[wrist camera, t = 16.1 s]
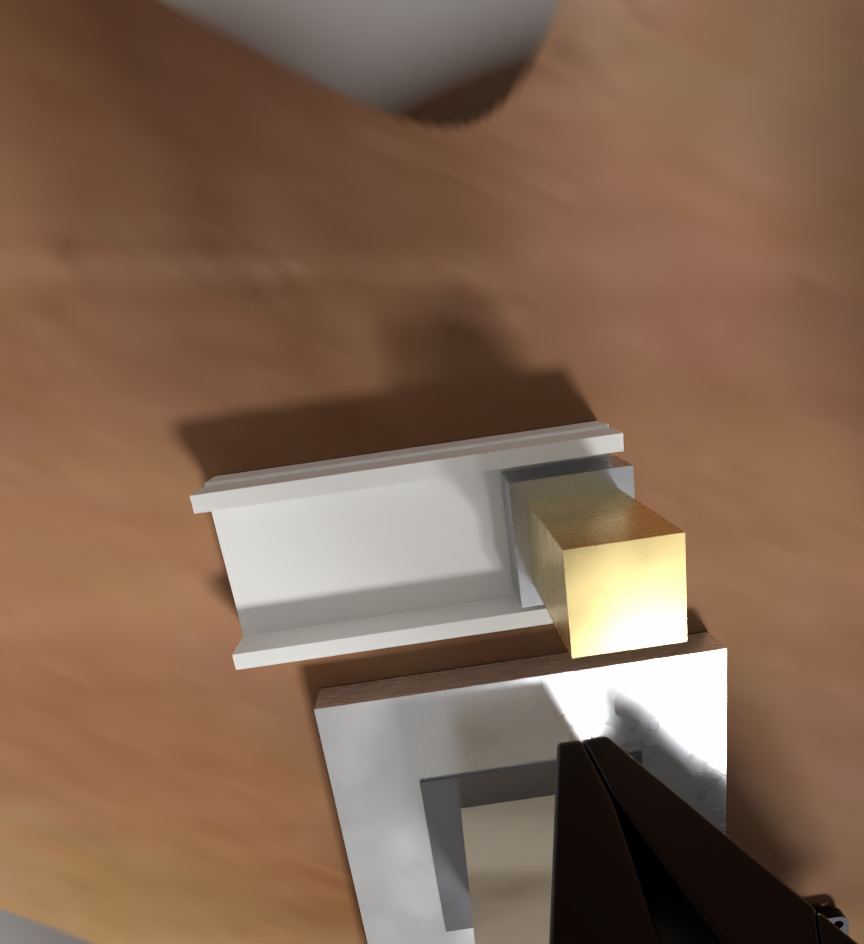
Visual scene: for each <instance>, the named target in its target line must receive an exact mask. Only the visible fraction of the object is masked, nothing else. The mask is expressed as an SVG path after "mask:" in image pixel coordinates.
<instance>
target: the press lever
mask: <svg viewBox="0 0 864 944" xmlns="http://www.w3.org/2000/svg"><path fill="white" fill-rule="evenodd" d="M501 482H502V491H503V500H504V509H505V518H506V527H507V536H508V545H509V554H510V563H511V572H512V581H513V588H514V591H515V593H516V595H517V598H518V600H519V602H520V605H521V607H522V608H525V607H532V606H538V605H544V606H545V608H546V610H547V612H548V613H549V615H550V617H551V619H552V621H553V623H554V625H555V627H556V629H557V631H558V633H559V635H560V636H561V638H562V640H563V642H564V644H565V646H566V648H567V650H568V652H569V654H570V656H571V658H578V657H584V656H591V655H598V654H605V653H612V652H618V651H625V650H632V649H639V648H645V647H652V646H659V645H666V644H673V643H679V642H686V641H687V601H686V551H685V532H684V531H682V530H681V529H679V528H678V527H676V526H675V525H673V524H672V523H670V522H669V521H667V520H666V519H664V518H663V517H661V516H660V515H658V514H657V513H655V512H653V511H652V510H650V509H649V508H647V507H646V506H644V505H643V504H641V503H640V502H638V501H637V500H635V494H634V471H633V465H632V464H630V463H628V462H626V461H624V460H622V459H620V458H618V457H616V456H609V457H602V458H596V459H589V460H582V461H575V462H568V463H561V464H554V465H547V466H541V467H534V468H527V469H520V470H513V471H506V472H501Z"/></svg>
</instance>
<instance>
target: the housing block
mask: <svg viewBox="0 0 864 944" xmlns="http://www.w3.org/2000/svg"><path fill="white" fill-rule="evenodd" d="M554 808H555V795H550V796H544V797H537V798H530V799H523V800H516V801H509V802H503V803H496V804H489V805H482V806H475V807H468V808H461V816H462V825H463V835H464V844H465V854H466V863H467V873H468V882H469V892H470V901H471V910H472V920H473V929H474V939H475V944H549V933H550V908H551V883H552V858H553V833H554Z"/></svg>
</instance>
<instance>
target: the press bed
mask: <svg viewBox="0 0 864 944" xmlns="http://www.w3.org/2000/svg"><path fill="white" fill-rule="evenodd" d="M314 712H315V716H316V721H317V725H318V729H319V734H320V738H321V743H322V747H323V751H324V756H325V760H326V764H327V769H328V773H329V777H330V782H331V786H332V790H333V795H334V799H335V803H336V808H337V812H338V817H339V821H340V825H341V830H342V834H343V838H344V843H345V847H346V851H347V856H348V860H349V864H350V869H351V873H352V877H353V882H354V886H355V891H356V895H357V899H358V904H359V908H360V912H361V917H362V921H363V925H364V930H365V934H366V938H367V943H368V944H475V939H474V929H473V920H472V910H471V901H470V892H469V882H468V873H467V863H466V854H465V844H464V835H463V825H462V816H461V808H468V807H475V806H482V805H489V804H496V803H503V802H509V801H516V800H523V799H530V798H537V797H544V796H550V795H555V783H556V758H557V745H558V744H559V743H561V742H568V741H574V740H579V741H581V742H583V741H584V740H585V739H588V738H594V737H601V736H605V737H608V738H610V739H611V740H612V741H613V742H614V743H616V744H617V745H618V746H619V747H620V748H622V749H623V750H624V751H625V752H627V753H628V754H629V755H630V756H631V757H633V758H634V759H635V760H636V761H637V762H639V763H640V764H641V765H642V766H643V767H645V768H646V769H647V770H648V771H649V772H651V773H652V774H653V775H654V776H655V777H657V778H658V779H659V780H660V781H662V782H663V783H664V784H665V785H666V786H668V787H669V788H670V789H671V790H672V791H674V792H675V793H676V794H677V795H678V796H680V797H681V798H682V799H683V800H684V801H686V802H687V803H688V804H689V805H690V806H692V807H693V808H694V809H695V810H696V811H698V812H699V813H700V814H701V815H703V816H704V817H705V818H706V819H707V820H709V821H710V822H711V823H712V824H713V825H715V826H716V827H717V828H718V829H719V830H721V831H722V832H723V833H724V834H725V835H726V743H727V649H726V648H725V647H724V646H723V645H722V644H721V643H720V642H719V641H718V640H717V639H716V638H715V637H714V636H713V635H712V634H711V633H709V632H703V633H696V634H689V635H687V641H686V642H679V643H673V644H666V645H659V646H652V647H645V648H639V649H632V650H625V651H618V652H612V653H605V654H598V655H591V656H584V657H578V658H571V656H570V654H569V652H567V653H560V654H553V655H547V656H540V657H533V658H526V659H519V660H513V661H506V662H499V663H492V664H486V665H479V666H472V667H465V668H458V669H452V670H445V671H438V672H431V673H424V674H418V675H411V676H404V677H397V678H390V679H384V680H377V681H370V682H363V683H357V684H350V685H343V686H336V687H329V688H323V689H319V693H318V697H317V700H316V704H315V707H314Z"/></svg>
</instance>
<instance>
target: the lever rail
mask: <svg viewBox="0 0 864 944" xmlns="http://www.w3.org/2000/svg"><path fill="white" fill-rule="evenodd" d="M621 451H624V445H623V433H622V432H619V431H617V430H614V429H611V428H609V426H608V424H605V423H603V422H600V421H592V422H585V423H579V424H572V425H565V426H558V427H551V428H544V429H537V430H530V431H523V432H517V433H510V434H503V435H496V436H489V437H482V438H475V439H468V440H462V441H455V442H448V443H441V444H434V445H427V446H420V447H413V448H406V449H400V450H393V451H386V452H379V453H372V454H365V455H358V456H351V457H344V458H338V459H331V460H324V461H317V462H310V463H303V464H296V465H289V466H283V467H276V468H269V469H262V470H255V471H248V472H241V473H234V474H227V475H221V476H215V477H213V478H212V479H210V480H209V481H207V482H205V483H204V485H205V486H204V487H203V488H201V489H200V490H198V491H197V492H195V493H193V494H192V495H190V499H191V503H192V507H193V510H194V514H195V513H202V512H209V511H211V512H212V516H213V520H214V523H215V527H216V531H217V535H218V539H219V543H220V547H221V550H222V554H223V558H224V562H225V566H226V570H227V574H228V578H229V581H230V585H231V589H232V593H233V597H234V601H235V605H236V608H237V612H238V616H239V620H240V624H241V628H242V632H243V637H242V639H241V641H240V642H239V644H238V646H237V648H236V649H235V651H234V653H233V654H232V656H233V660H234V664H235V667H236V670H239V669H245V668H252V667H259V666H266V665H273V664H279V663H286V662H293V661H300V660H307V659H313V658H320V657H327V656H334V655H341V654H347V653H354V652H361V651H368V650H375V649H381V648H388V647H395V646H402V645H409V644H415V643H422V642H429V641H436V640H443V639H449V638H456V637H463V636H470V635H477V634H484V633H490V632H497V631H504V630H511V629H518V628H524V627H531V626H538V625H545V624H552V623H553V621H552V619H551V617H550V615H549V613H548V612H547V610H546V608H545V606H544V605H538V606H532V607H525V608H522V607H521V605H520V602H519V600H518V598H517V595H516V593H515V591H514V588H513V581H512V572H511V563H510V554H509V545H508V536H507V527H506V518H505V509H504V500H503V491H502V482H501V472H506V471H513V470H520V469H527V468H534V467H541V466H547V465H554V464H561V463H568V462H575V461H582V460H589V459H596V458H602V457H609V456H610V453H614V452H621Z"/></svg>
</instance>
